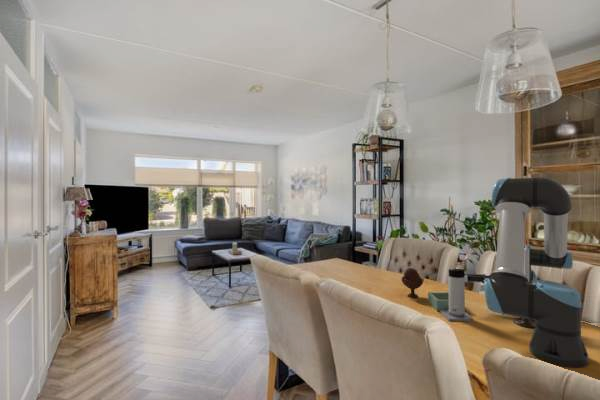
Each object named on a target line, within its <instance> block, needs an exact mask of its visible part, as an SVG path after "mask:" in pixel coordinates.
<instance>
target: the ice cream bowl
mask: <svg viewBox="0 0 600 400" xmlns="http://www.w3.org/2000/svg"><path fill="white" fill-rule="evenodd" d="M404 271H405V272H403V276H402V277H401V282H402V284H403V285H404V286H405V287H407V288H408V289H410V293H408V294H407V298H410V299H418V298H419V295H418V294H416V293H415V290H417V289H419V288H420V287H421V286H422V285H423V283H424V280H425V278H423V277H421V276H420V274H419V272H418V271H417V270H416V269H415V268H414V267H408V268H406V270H404Z"/></svg>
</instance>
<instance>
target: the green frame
mask: <svg viewBox="0 0 600 400" xmlns="http://www.w3.org/2000/svg"><path fill="white" fill-rule="evenodd" d="M427 298H428V299H427V300H428V303H427V304H429V305H430V306H431V307H432V308H433V310H435V311H436V312H440V310H449V291H448V292H444V291H443V292H441V291H436V292H434V291H433V292H432V291H431V292H430V291H429V292H427Z"/></svg>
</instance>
